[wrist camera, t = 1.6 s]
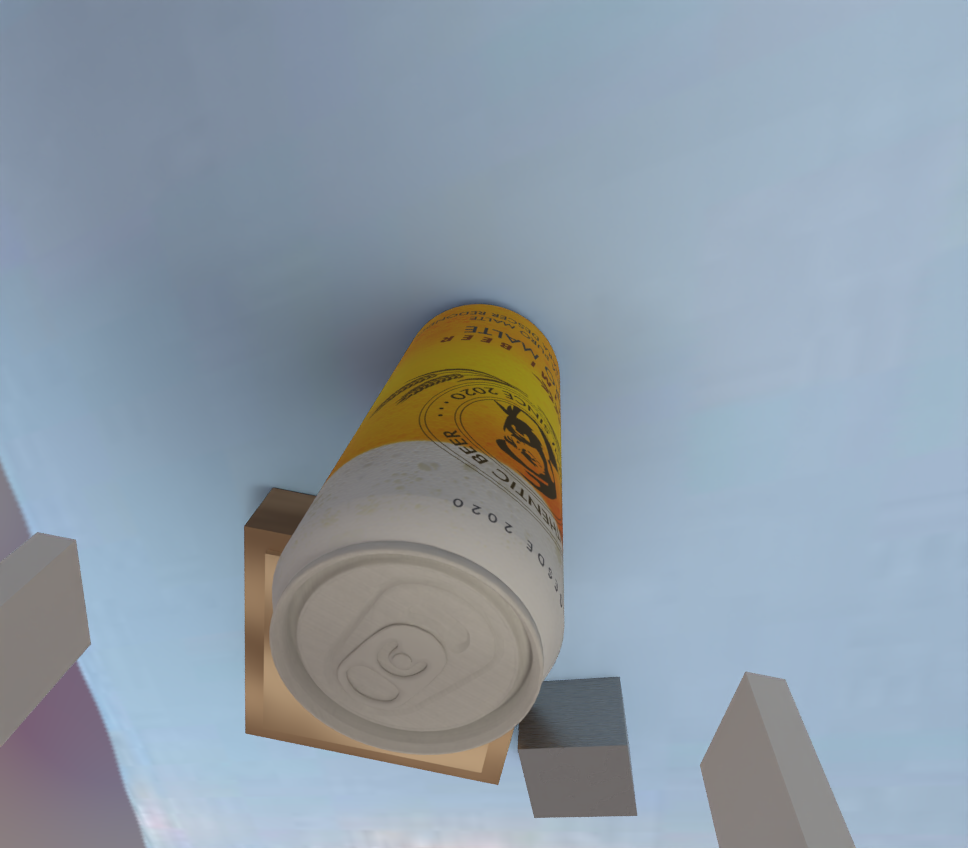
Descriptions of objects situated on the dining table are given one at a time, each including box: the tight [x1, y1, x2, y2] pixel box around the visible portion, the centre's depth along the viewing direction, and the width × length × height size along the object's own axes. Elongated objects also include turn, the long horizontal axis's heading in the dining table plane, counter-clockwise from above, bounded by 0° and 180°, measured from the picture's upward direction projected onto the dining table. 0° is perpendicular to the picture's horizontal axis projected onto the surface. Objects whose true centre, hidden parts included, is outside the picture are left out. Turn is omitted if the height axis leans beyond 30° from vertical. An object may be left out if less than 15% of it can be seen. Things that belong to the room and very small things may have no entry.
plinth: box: [244, 488, 514, 785], centre depth 30 cm, size 13×13×3 cm
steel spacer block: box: [518, 677, 637, 818], centre depth 32 cm, size 5×5×4 cm
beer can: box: [269, 304, 564, 755], centre depth 19 cm, size 6×6×15 cm
